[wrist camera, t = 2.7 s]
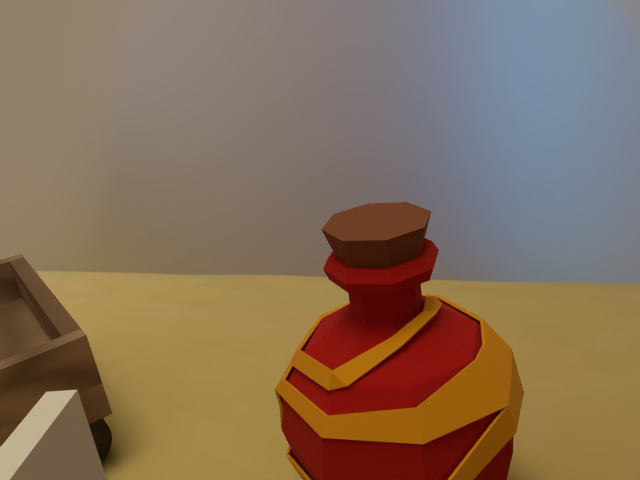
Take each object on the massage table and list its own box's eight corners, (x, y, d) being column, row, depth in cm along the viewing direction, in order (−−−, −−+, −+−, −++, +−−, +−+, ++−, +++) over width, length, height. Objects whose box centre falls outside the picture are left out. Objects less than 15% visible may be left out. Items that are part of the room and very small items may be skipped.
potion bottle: (460, 686, 21) (425, 311, 15) (258, 547, 28) (184, 251, 22) (568, 491, 28) (570, 187, 23) (386, 419, 35) (354, 170, 29)
